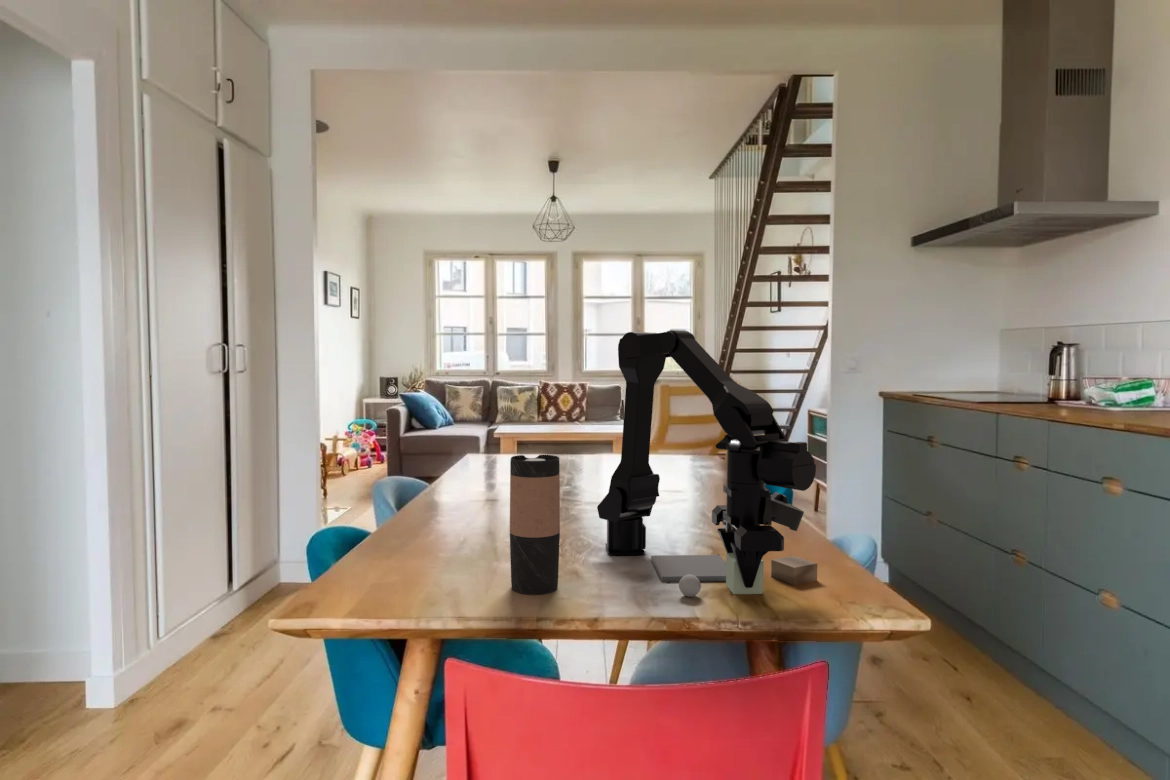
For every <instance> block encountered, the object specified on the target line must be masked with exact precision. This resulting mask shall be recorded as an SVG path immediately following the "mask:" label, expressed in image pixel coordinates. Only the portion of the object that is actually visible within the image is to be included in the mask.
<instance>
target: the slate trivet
mask: <svg viewBox="0 0 1170 780" xmlns="http://www.w3.org/2000/svg"><path fill="white" fill-rule="evenodd" d="M650 561H651V563H652V565H653V567H654V568H655V571H656V573H657V574H658V577H659V578H660V580H661V582H662V583H663V582H666V583H667V582H668V583H669V582H671V583H672V582H678V583H679V582H680V580H681V578H682V577H683V576H685V575H694V576H696V577H697V578H698V579H699V581H700V582H726V561H725V560H724V559H723V558H722V556H720V554H693V555H692V554H691V555H689V554H686V555H685V554H683V555H682V554H681V555H676V554H675V555H673V554H672V555H670V554H669V555H667V554H665V555H659V554H658V555H650Z"/></svg>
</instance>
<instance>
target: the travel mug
mask: <svg viewBox="0 0 1170 780" xmlns="http://www.w3.org/2000/svg"><path fill="white" fill-rule="evenodd" d="M509 466H510V467H509V468H510V473H509V474H510V478H509V479H510V483H509V551H510V553H509V554H510V559H509V560H510V582H511V589H512V591H514V592H516V593H518V594H521V595H535V596H536V595H537V596H538V595H545V594H549V593H552V592H555V591H556V590H557V589H558V585H559V565H560V542H561V540H560V539H561V538H560V536H561V533H560V532H561V525H560V524H561V512H560V511H561V509H560V508H561V507H560V505H561V504H560V503H561V502H560V501H561V497H560V496H561V495H560V494H561V493H560V491H561V490H560V487H561V485H560V481H561V480H560V475H561V474H560V472H561V471H560V456H557V455H553V454H538V456H537V457H526V456H525V455H523V454H519V455H518V454H517V455H513V456H511V457H510V465H509Z"/></svg>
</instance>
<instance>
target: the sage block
mask: <svg viewBox="0 0 1170 780" xmlns="http://www.w3.org/2000/svg"><path fill="white" fill-rule="evenodd" d="M725 555H726V557H725V558H726V559H725V560H726V561H725V562H726V581H725V585H726V586H727V589H729V590H730V591H731V593H732V594H733V595H763V594H764V569H765V568H764V566H765V564H764V561H765V560H763V559H762V560H761V563H760V565H759V569H758V572H757V575H756V578H755V581H754V584H753V587H752V588H746V587H745V586H744V583H743V580H742V577H741V574H740V571H739V568H738V565H737V562H736V559H735V556H734V553H727V552H726V554H725Z"/></svg>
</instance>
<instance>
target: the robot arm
mask: <svg viewBox="0 0 1170 780" xmlns="http://www.w3.org/2000/svg"><path fill="white" fill-rule="evenodd" d="M617 345H618V346H617V353H618V354H617V357H618V367H619V370H620V371H621V374H622V376H623V378H624V380H625V394H624V395H625V396H624V409H623V410H624V412H623V428H622V438H621V439H622V441H621V454H620V455H621V456H620V462H619V464H618V466H617V467H616V469H615V471H614V472H613V474H612V475H611V478H610V482H609V483H610V484H609V488H608V493H607V494H606V495H605V496H604V498H603V499H602V500H601V502H599V504H598V505H597V507H596V510H597V513H598V518H599V519H600V520H605V521H606V543H605V549H606V551H607V552H606V553H607V555H608V556H624V555H625V556H627V555H628V556H636V555H637V556H640V555H641V556H642V555H645V550H646V548H647V547H646V546H647V540H646V539H647V536H646V535H647V527H646V525H645V524H644V521H643V520H644V518H645V517H650V516H651V514H652V509H653V506H654V505H655V503H656V502H657V498H659V497H660V493H659V483H660V480H661V479H660V478H661V477H660V475H659V473H654V471H653V469H652V467H651V465H650V451H651V450H650V449H651V436H652V435H651V433H652V423H653V421H652V420H653V410H654V409H653V408H654V407H653V405H654V394H655V393H654V392H655V384H656V382H657V380H658V379H659V377H660V375H661V374H662V372H663V370H664V369H665V364H666V360H667V358H672V359H673V361H674V362H675V363H676V365H678V366H679V368H680V369H682V371H683V372H684V373H685V374H686V375H687V376H688V377H689V378H690V380H691V381H692V382H693V383H694V384H695V385H696V386H697V388H699V390H700V391H701V392H702V393H703V394H704V395H705V396H706V397H707V399H708V400H709V402H710V403H711V406H712V411H713V412H712V413H713V416H714V418H715V419H716V421H717V422H718V424H719V426H720V427H721V429H722V430H723V432H724V433H725V435H724V436H723V438H722V439H721V440H720V441H718V443H716V444H715V449H717V450H724V451H725V450H726V455H727V456H726V457H727V458H726V484H723V493H725V494H726V499H725V501H726V503H725V504H723V505H722V504H720V505H719V504H717V505H716V506H715V507H714V508H713V509H712V511H711V522H712V523H713V525H714V526H720V524H721V522H722V528H720V527H719V528H717V533H718V535H719V538H720V539H721V542H722V544H723V547H724V549H725V552H726V553H734V556H735V559H736V562H737V565H738V568H739V571H740V574H741V577H742V580H743V583H744V586H745V587H746V588H752V587H753V584H754V581H755V578H756V575H757V572H758V569H759V565H760V563H761V560H763V558H764V556H765V555H766V554H767V553H769V552H784V551H785V537H784V536H783V534H782V533H780V531H779V530H777V529H776V528H775V527H774V526H772V523H776V524H778V525H782V526H784V527H787V528H789V530H791V531H795V532H798V529H799V527H800V524H801V521H802V519H803V517H804V514H805V511H803V510H802V509H801V508H798V507H797V506H794V505H793V504H791V503H788V496H786V495H784V494H783V493H779V492H778V491H777V492H776V491H774V493H773V494H772V492H771V491H770V490H769V489H767V488H766V485H767V486H771V487H772V486H773V487H778V488H784V489H790V490H796V491H801V492H803V491H804V492H805V491H806V490H808V489H809V488H810V487H811V486H812V484H813V483H814V479H815V476H816V470H817V465H816V464H815V461H814V458H813V455H812V453H811V452H810V451H808V443H807V442H806V441H805V442H804V441H795V442H793V441H788V439H787V436H786V434H784V432H783V430H782V428H781V427H780V426H781V425H780V424H779V423H778V422H777V420H776V418H775V416H774V415H773V414H774V410H773V407H772V405H771V404H770V402H768V401H767V400H766V399H765V398H764V397H761V395H759V394H757V393H756V392H754V391H753V390H751V389H749V388H747V387H745V386H742V385H740V384H739V383H738V382H736V381H735V380H734V379H733V378H732V377H731V376H730V375H729V373H727V372H726V371H725V370H724V369H723V368H722V367H721V366H720V365H719V363H718V362H716V360H715V359H714V358H713V357H712V356H711V355H710V354H709V352H707V351H706V350H705V349H704V347H703V346H701V345H700V343H699V342H698V341H697V340H696V338H695V335H694V334H693V333H691V331H690V332H689V331H688V330H673V329H669V330H667V331H664V332H658V333H657V332H644V331H643V332H641V331H628V332H626V333H625V334H624V335H623V336H622V337H621V338H620V339H619V342H618V344H617Z"/></svg>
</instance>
